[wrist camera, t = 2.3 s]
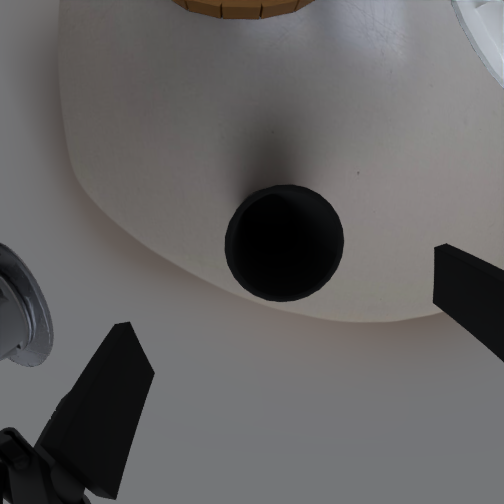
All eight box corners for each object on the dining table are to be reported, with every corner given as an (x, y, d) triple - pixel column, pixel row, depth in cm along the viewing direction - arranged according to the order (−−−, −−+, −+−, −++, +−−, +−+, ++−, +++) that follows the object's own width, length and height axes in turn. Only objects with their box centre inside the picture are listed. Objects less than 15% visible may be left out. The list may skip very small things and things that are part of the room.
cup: (317, 210, 29) (366, 236, 18) (272, 265, 31) (293, 322, 19) (260, 163, 28) (277, 158, 16) (214, 223, 29) (200, 258, 17)
